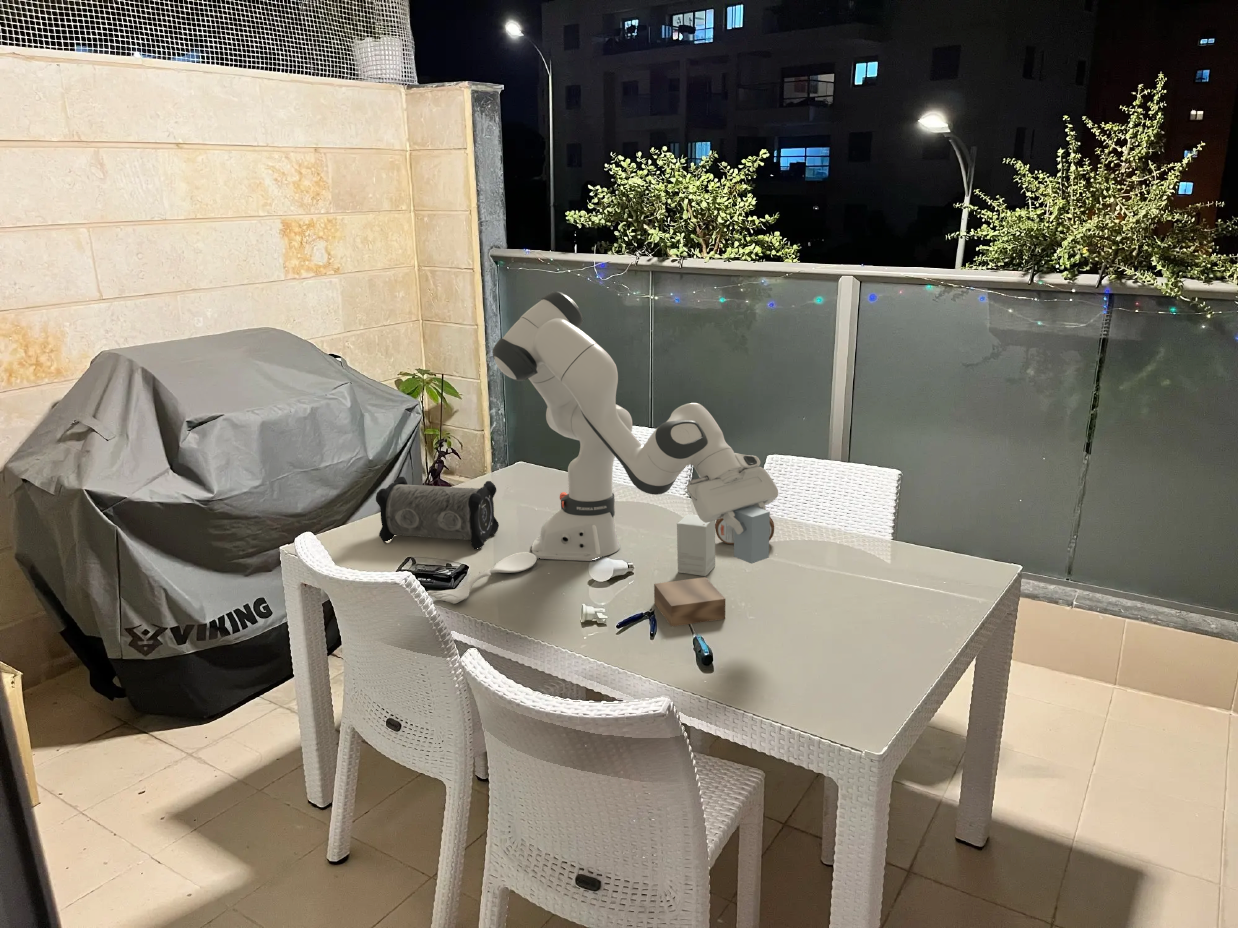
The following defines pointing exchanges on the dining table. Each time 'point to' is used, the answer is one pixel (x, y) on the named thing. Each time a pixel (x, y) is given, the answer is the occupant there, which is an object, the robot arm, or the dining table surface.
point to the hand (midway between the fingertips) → (754, 528)
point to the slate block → (752, 534)
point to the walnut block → (689, 601)
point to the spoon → (505, 565)
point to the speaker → (437, 511)
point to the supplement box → (695, 545)
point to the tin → (727, 531)
